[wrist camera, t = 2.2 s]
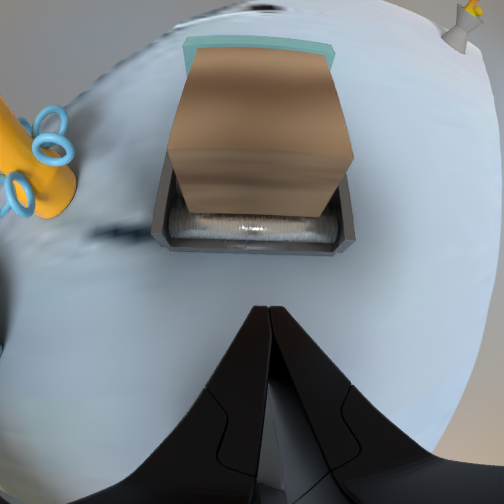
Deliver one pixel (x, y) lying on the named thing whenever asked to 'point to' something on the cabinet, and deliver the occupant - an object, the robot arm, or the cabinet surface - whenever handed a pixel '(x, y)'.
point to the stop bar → (254, 45)
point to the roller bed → (248, 245)
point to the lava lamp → (463, 26)
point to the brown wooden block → (259, 133)
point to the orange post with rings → (35, 165)
